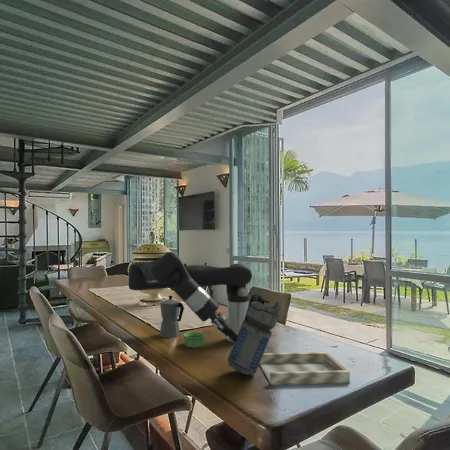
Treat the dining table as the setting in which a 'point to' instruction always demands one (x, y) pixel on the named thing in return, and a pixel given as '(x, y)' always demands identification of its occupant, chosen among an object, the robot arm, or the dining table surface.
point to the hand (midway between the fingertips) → (237, 340)
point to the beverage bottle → (253, 335)
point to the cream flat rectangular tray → (303, 369)
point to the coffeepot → (170, 317)
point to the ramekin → (194, 339)
